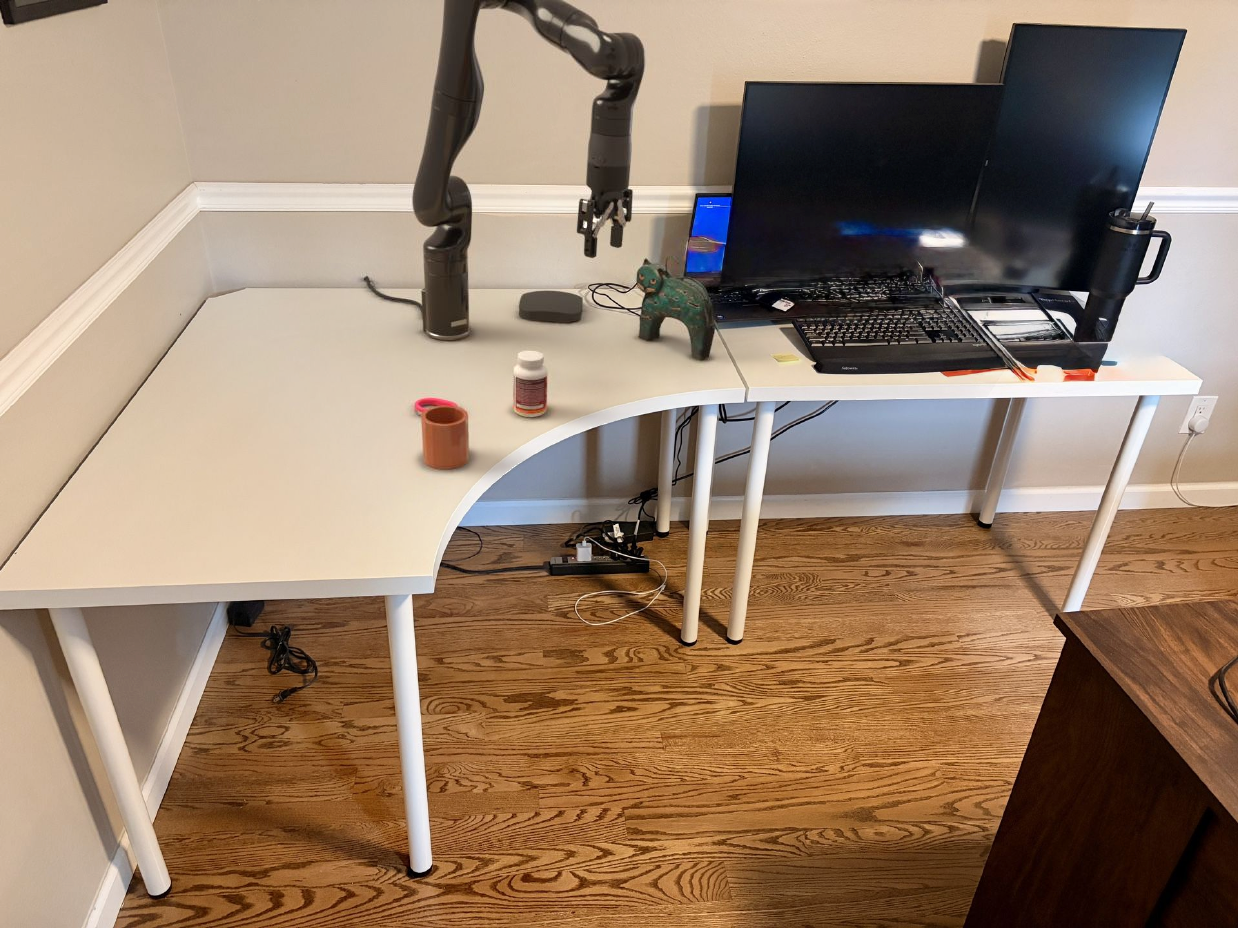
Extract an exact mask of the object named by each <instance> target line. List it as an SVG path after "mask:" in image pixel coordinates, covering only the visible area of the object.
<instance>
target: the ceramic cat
mask: <svg viewBox="0 0 1238 928" xmlns="http://www.w3.org/2000/svg"><path fill="white" fill-rule="evenodd" d="M669 258H672V259H673V260H674V261H675V262H676V263H677V265H679V264H680V262H679V260H678V258H677V257H676V256H674V255H673V254H671V255H668V256H666V259H665V264H664V263H662V262H655V263H652V262H651V261H650V260H649V259H648V258H646V257H645V258H644V259H643V262H642V265H641V266H640V267H639V268H638V269H637V271H636V287H637V288H638V289H639V290H640V291H641V292H642V293H644V296H643V299H642V302H641V307H640V308H641V309H640V315H639V330H638V338H639V339H642V340H644V341H646V342H652V341H654V340H657V339H659V338H660V337H661V336H660V335H661V334H660V333H661V328H662V324H663V322H664V321H665V320H666V318H670V319H675V320H677V321H679V322H681V323H682V324H684V326H685V327H686V329H687V332H688V336H689V341H690V348H691V349H690V350H691V358H692V359H695V360H698V361H703V360H705V359H708V358H710V354H711V351H712V346H713V340H714V337H715V332H716V329H715V316H714V315H715V314H714V307H713V303H712V300H711V298H710V296H709V293H708V291H707V289H706V287H705V286H704V285H703V284H702V283H701V282H700V281H699V280H697V279H695V278H693V277H690V276H675V277H674V276H673V274H672V273H671V271H670V270H669V268H668V266H667V265H668V264H667V263H668V259H669Z"/></svg>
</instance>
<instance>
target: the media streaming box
mask: <svg viewBox="0 0 1238 928" xmlns="http://www.w3.org/2000/svg"><path fill="white" fill-rule="evenodd" d="M583 301H584V298H583V296H580V295H578V294H575V293H572V292H567V291H561V290H534V291H528V292H525V293H523V294H522V295H521V296H520V299H519V302H518V315H519V317H520V318H522V319H526V320H529V321H530V320H531V321H541V322H543V321H544V322H560V323H561V322H562V323H572V322H577V321H579V320H580V319H581V318H582V315H583V307H584V306H583V304H584V303H583Z"/></svg>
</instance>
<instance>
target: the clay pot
mask: <svg viewBox="0 0 1238 928" xmlns="http://www.w3.org/2000/svg"><path fill="white" fill-rule="evenodd" d="M457 406H458V405H457ZM457 406H450V405H441V406H439V405H435V406H431V407H429V408H426V410H425V411H424V412H423V413H422V414H421V416H420V419H421V420H420V421H421V437H422V438H421V441H422V457H423V462H424V463H425V465H426V466H428V467H430V468H433V469H437V470H453V469H457V468H458V469H459V468H460V467H463V466H464V465H466V464H467V463H468V461H469V459H470V440H469V439H470V436H469V435H470V433H469V414H468V411H466V410H465V409H464V408H462V407H459V406H458V407H457Z"/></svg>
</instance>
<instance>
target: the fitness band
mask: <svg viewBox="0 0 1238 928" xmlns="http://www.w3.org/2000/svg"><path fill="white" fill-rule="evenodd" d="M425 405H433V406H434V405H435V406H441V405H450V406H457V407H459V406H458V404H457V403H456V402H454V401H452V400H448V399H443V398H438V397H423V398H420V399H417V400H416V401H415V402H414V409H415V410H416V411H417V416H420V417H421V414H422V413H423V412H424V411H425V410H426V409H427V408H426V407H422V406H425Z"/></svg>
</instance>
